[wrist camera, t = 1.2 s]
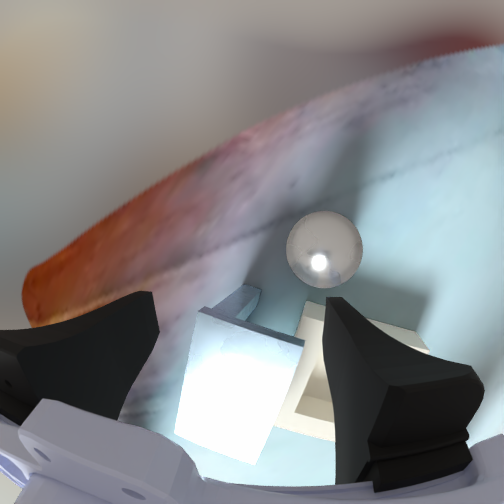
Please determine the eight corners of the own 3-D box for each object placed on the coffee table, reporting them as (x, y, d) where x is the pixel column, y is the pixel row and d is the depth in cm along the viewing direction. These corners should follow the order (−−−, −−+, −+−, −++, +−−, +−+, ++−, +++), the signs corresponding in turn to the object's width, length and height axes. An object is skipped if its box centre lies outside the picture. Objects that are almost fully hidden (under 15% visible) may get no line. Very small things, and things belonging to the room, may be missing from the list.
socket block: (416, 331, 21) (430, 350, 18) (370, 422, 23) (373, 448, 19) (306, 300, 23) (302, 315, 20) (271, 397, 25) (262, 422, 21)
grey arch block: (312, 302, 23) (303, 347, 15) (277, 398, 25) (254, 464, 16) (242, 280, 25) (197, 311, 16) (216, 377, 26) (174, 433, 17)
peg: (355, 222, 22) (371, 223, 14) (341, 272, 23) (349, 297, 15) (306, 208, 23) (297, 201, 15) (292, 257, 23) (277, 275, 16)
